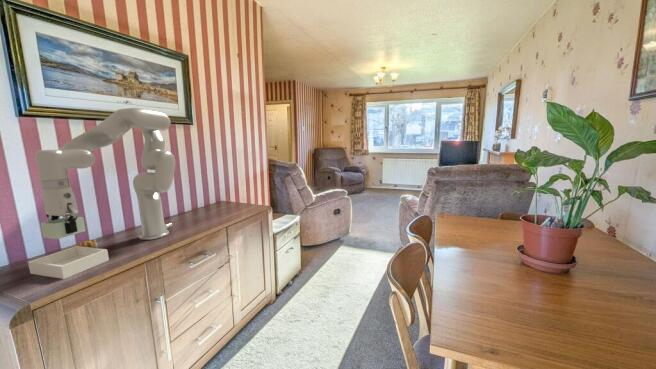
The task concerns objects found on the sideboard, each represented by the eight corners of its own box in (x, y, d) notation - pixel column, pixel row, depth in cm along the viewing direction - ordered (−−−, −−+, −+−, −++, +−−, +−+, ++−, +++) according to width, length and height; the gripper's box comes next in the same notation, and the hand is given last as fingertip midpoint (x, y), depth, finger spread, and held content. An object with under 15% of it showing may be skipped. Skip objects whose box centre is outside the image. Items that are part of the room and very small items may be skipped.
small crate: (72, 229, 105) (70, 216, 104) (85, 231, 103) (83, 217, 102) (43, 237, 97) (40, 222, 96) (57, 239, 95) (54, 224, 94)
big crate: (78, 256, 111) (76, 245, 111) (109, 260, 107) (107, 249, 106) (30, 273, 97) (27, 261, 96) (63, 278, 93) (61, 266, 92)
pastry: (69, 255, 113) (67, 246, 112) (69, 251, 118) (67, 242, 117) (98, 249, 119) (97, 240, 119) (97, 245, 124) (96, 237, 124)
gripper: (85, 183, 98) (92, 230, 101) (52, 182, 103) (60, 227, 106) (60, 186, 91) (69, 237, 94) (25, 185, 96) (35, 233, 98)
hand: (64, 231), depth 100 cm, fingers closed on small crate, 7 cm apart
